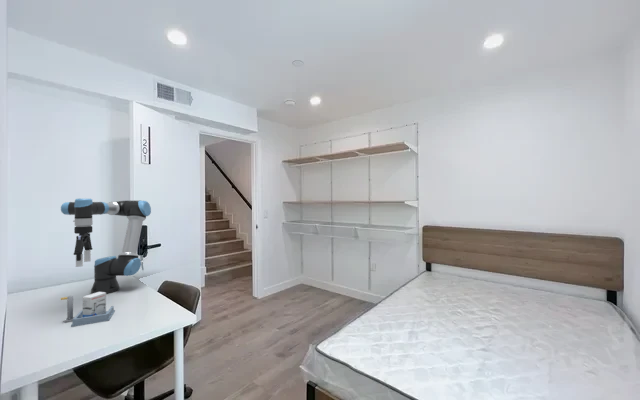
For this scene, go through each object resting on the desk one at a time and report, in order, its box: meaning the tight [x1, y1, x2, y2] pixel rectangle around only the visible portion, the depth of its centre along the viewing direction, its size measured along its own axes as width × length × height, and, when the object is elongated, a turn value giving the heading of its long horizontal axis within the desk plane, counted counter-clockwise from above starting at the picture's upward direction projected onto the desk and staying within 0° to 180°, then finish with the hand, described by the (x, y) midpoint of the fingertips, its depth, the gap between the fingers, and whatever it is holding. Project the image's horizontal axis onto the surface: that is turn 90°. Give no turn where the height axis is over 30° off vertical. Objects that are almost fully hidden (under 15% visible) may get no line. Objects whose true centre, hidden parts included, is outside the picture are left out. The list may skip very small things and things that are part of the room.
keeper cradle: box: [60, 295, 116, 328], centre depth 138 cm, size 13×22×12 cm, turn 117°
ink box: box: [82, 292, 107, 317], centre depth 140 cm, size 9×5×12 cm, turn 167°
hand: (83, 264), depth 148 cm, fingers open, 13 cm apart
